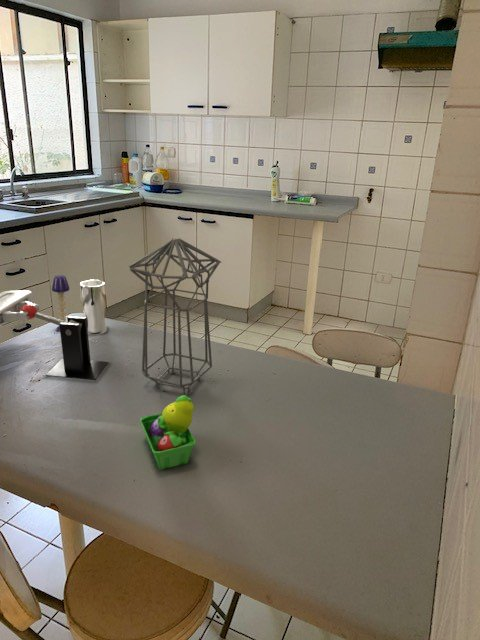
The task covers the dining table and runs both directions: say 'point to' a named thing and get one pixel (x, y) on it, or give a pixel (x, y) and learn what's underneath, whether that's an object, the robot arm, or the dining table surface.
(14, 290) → the robot arm
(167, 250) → the geometric lantern
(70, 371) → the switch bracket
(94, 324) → the silver metal vase
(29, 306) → the switch lever
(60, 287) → the toy lamp
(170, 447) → the fruit basket
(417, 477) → the dining table surface
